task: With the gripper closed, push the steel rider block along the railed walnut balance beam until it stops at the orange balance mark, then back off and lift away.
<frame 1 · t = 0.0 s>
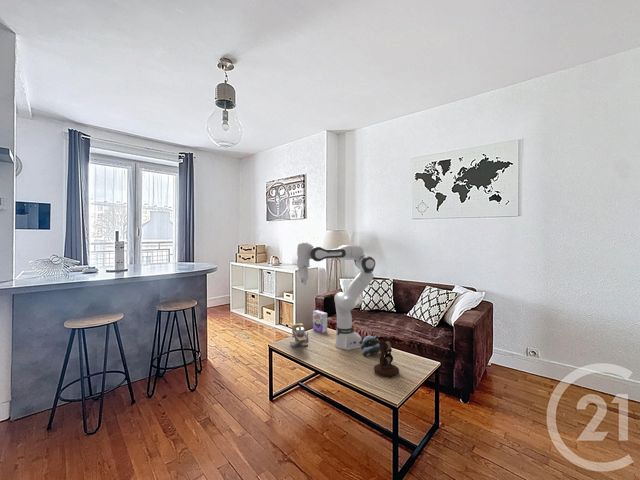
hand: (303, 283, 216), 48 cm above the table, tool pointing down, fingers open, 8 cm apart
brown statuette: (386, 373, 180), on the table
rider: (300, 330, 220), point 13 cm above the table, slide at 0.0 cm
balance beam: (300, 347, 220), on the table
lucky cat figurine: (370, 354, 208), on the table
candy box: (320, 330, 259), on the table
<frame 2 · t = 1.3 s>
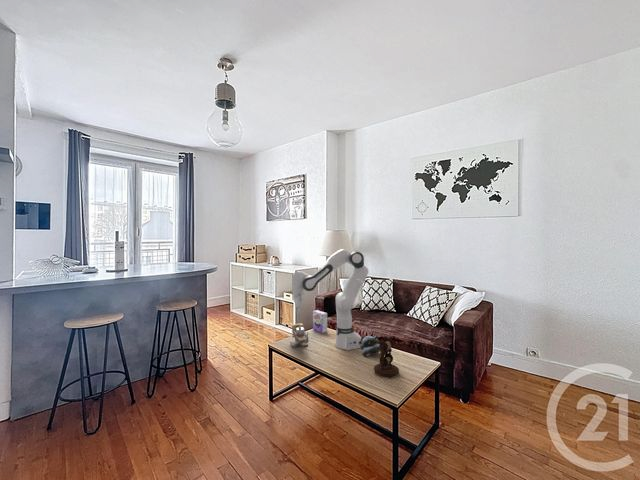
hand: (298, 310, 227), 26 cm above the table, tool pointing down, fingers open, 8 cm apart
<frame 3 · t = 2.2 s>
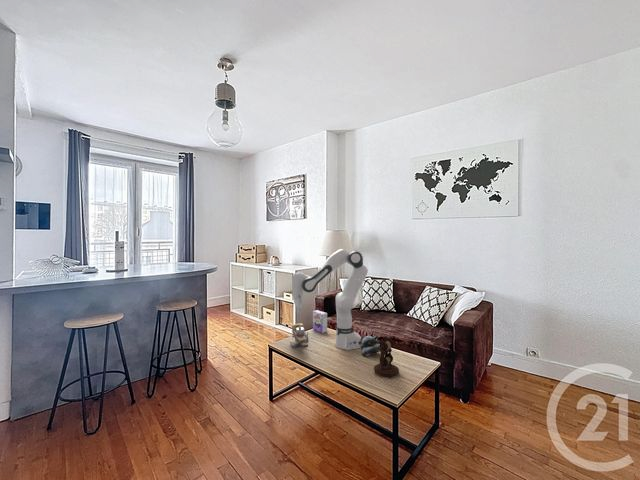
hand: (298, 311, 227), 25 cm above the table, tool pointing down, fingers closed
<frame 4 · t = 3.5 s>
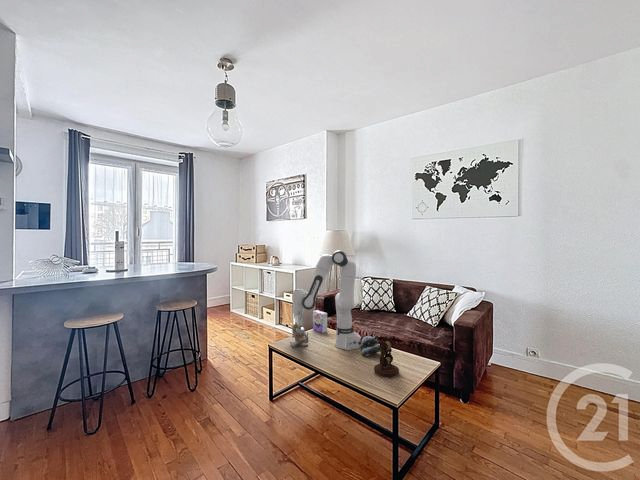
hand: (298, 328, 228), 12 cm above the table, tool pointing down, fingers closed
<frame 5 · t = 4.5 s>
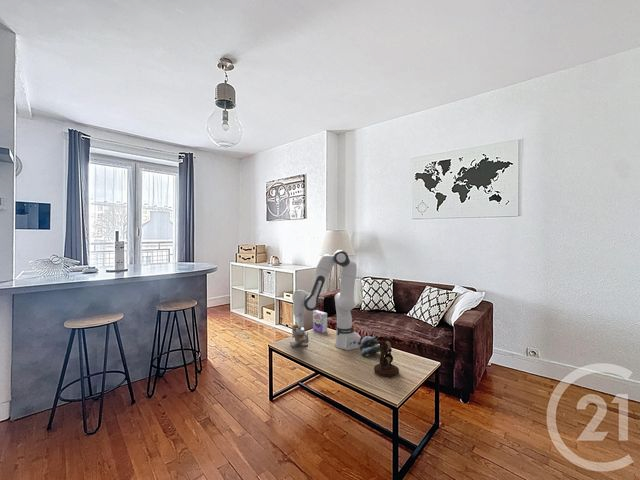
hand: (299, 329, 224), 12 cm above the table, tool pointing down, fingers closed
rider: (300, 330, 220), point 13 cm above the table, slide at 0.4 cm, touching gripper
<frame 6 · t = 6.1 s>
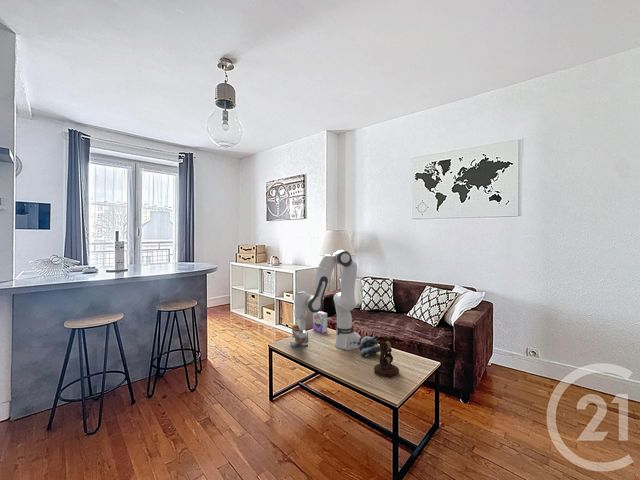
hand: (300, 332, 217), 12 cm above the table, tool pointing down, fingers closed
rider: (301, 333, 213), point 13 cm above the table, slide at 7.3 cm, touching gripper
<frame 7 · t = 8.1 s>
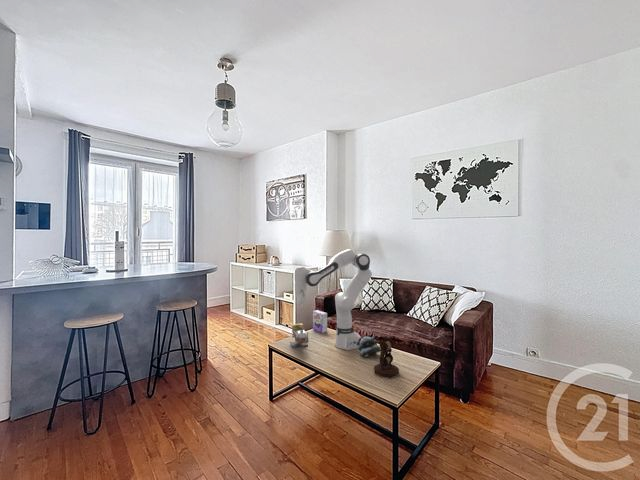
hand: (301, 306, 224), 29 cm above the table, tool pointing down, fingers closed
rider: (301, 333, 213), point 13 cm above the table, slide at 7.4 cm
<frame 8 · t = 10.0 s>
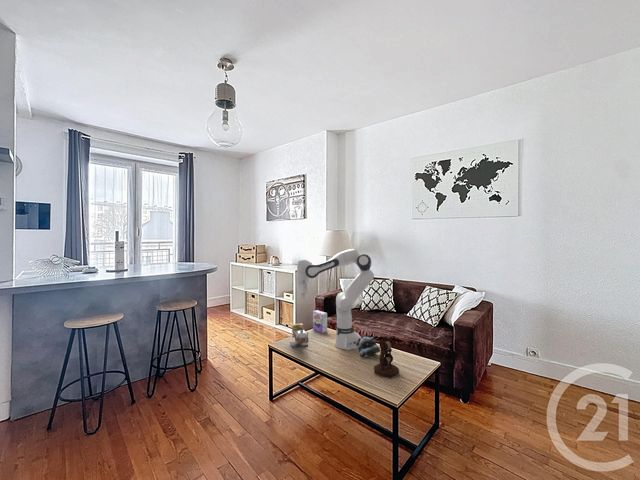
hand: (303, 297, 234), 34 cm above the table, tool pointing down, fingers closed
at the end: rider slide at 7.4 cm; rider moved 7.4 cm from its start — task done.
